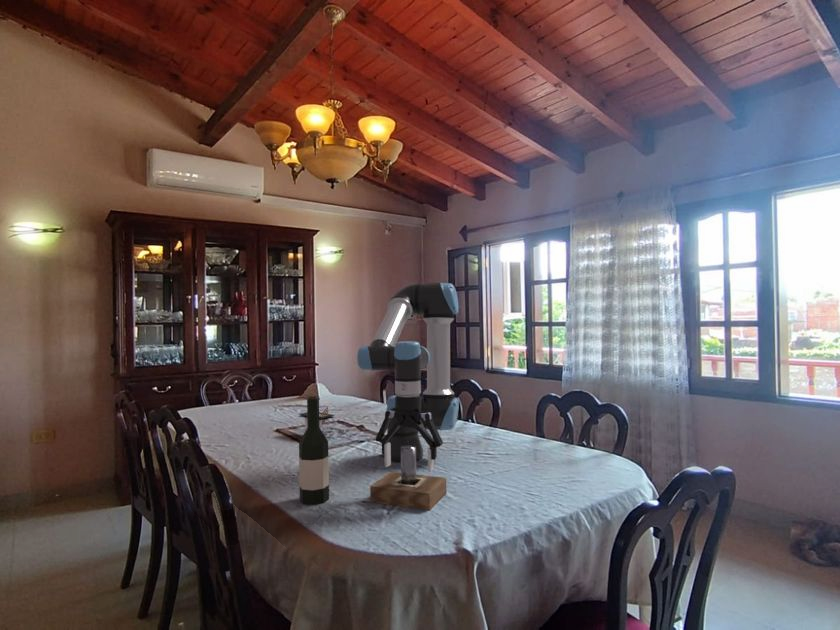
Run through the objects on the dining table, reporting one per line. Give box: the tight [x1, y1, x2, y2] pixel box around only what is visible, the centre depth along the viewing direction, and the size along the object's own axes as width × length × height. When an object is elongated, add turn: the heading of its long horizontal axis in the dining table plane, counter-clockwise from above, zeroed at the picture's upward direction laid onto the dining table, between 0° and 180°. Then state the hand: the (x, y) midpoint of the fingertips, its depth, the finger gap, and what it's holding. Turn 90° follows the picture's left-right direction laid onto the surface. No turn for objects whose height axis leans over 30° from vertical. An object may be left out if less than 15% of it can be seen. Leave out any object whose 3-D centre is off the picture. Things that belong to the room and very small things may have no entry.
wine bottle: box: [298, 394, 330, 506], centre depth 147 cm, size 8×8×30 cm
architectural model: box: [298, 406, 336, 432], centre depth 223 cm, size 35×28×14 cm
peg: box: [400, 445, 417, 485], centre depth 148 cm, size 4×4×14 cm
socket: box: [369, 471, 447, 511], centre depth 148 cm, size 18×14×5 cm
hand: (409, 468), depth 148 cm, fingers open, 13 cm apart
